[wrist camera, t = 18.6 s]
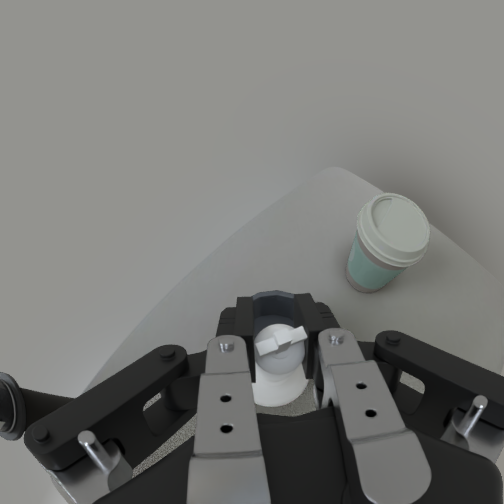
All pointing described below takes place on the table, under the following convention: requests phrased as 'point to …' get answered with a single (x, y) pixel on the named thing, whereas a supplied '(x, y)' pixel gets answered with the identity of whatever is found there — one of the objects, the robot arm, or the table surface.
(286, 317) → the tumbler
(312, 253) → the table surface
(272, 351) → the chess piece
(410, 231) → the coffee cup
